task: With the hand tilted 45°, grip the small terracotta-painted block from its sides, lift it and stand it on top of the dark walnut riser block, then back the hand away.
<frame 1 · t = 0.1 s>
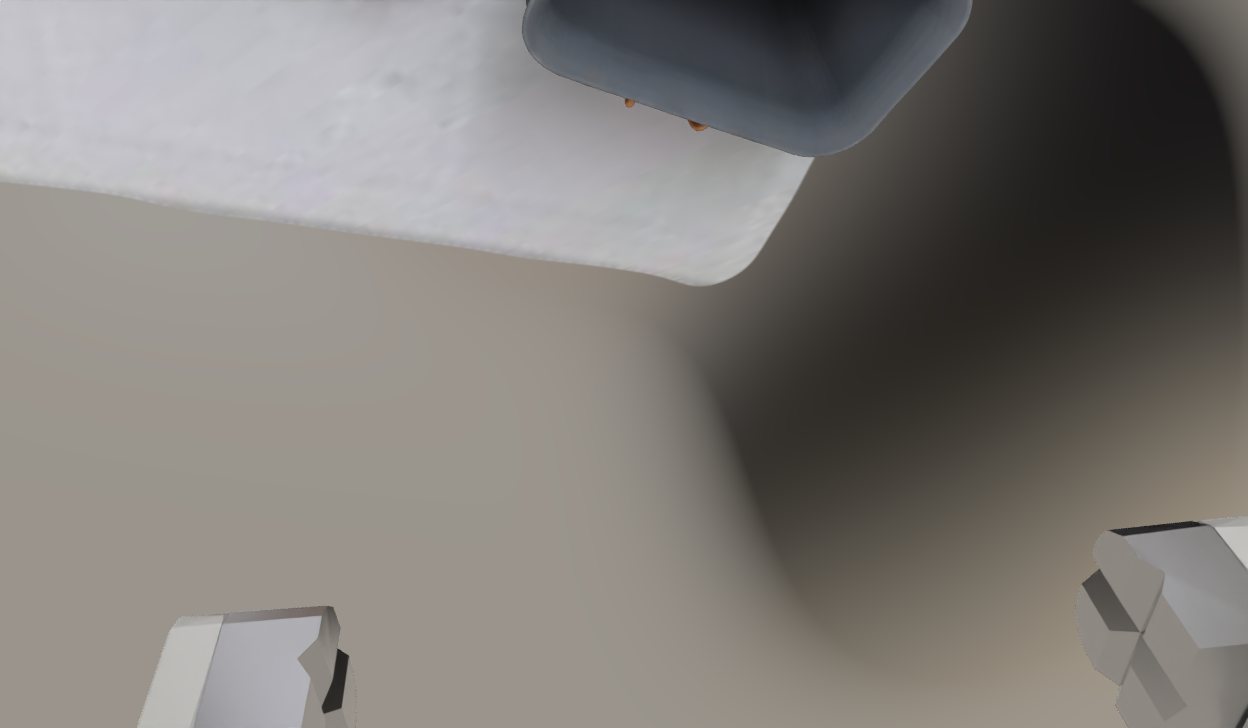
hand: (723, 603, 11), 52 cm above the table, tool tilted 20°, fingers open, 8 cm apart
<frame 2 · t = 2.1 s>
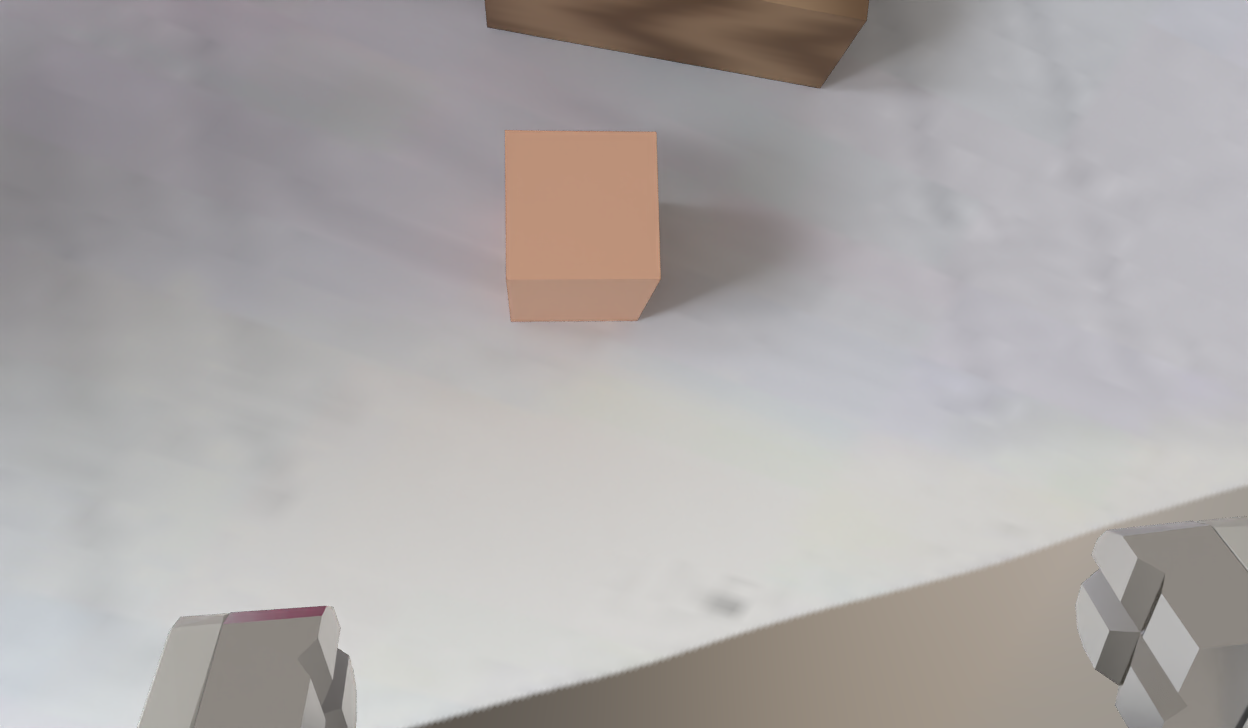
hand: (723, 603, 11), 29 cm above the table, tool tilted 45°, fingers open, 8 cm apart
terracotta block: (573, 259, 41), on the table
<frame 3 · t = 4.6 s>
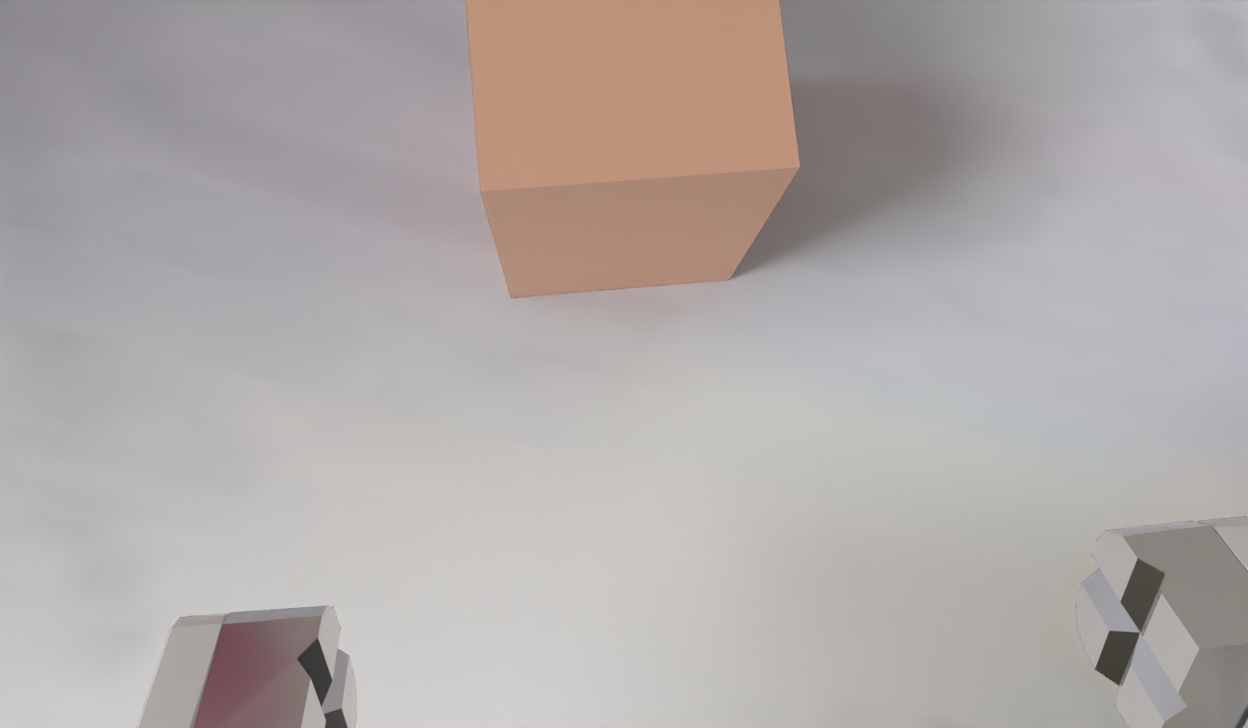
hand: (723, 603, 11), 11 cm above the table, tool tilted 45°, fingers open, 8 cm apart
terracotta block: (610, 184, 24), on the table
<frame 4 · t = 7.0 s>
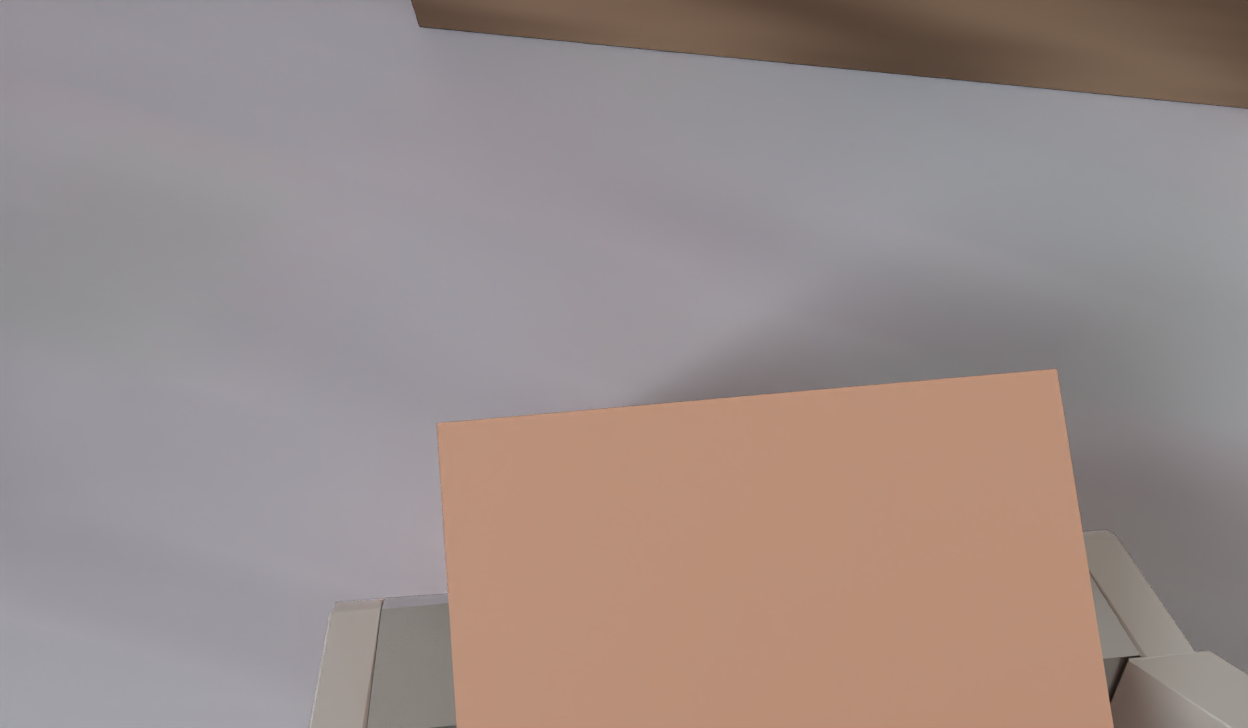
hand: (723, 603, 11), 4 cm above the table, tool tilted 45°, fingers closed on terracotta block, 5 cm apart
terracotta block: (686, 624, 15), on the table, touching gripper
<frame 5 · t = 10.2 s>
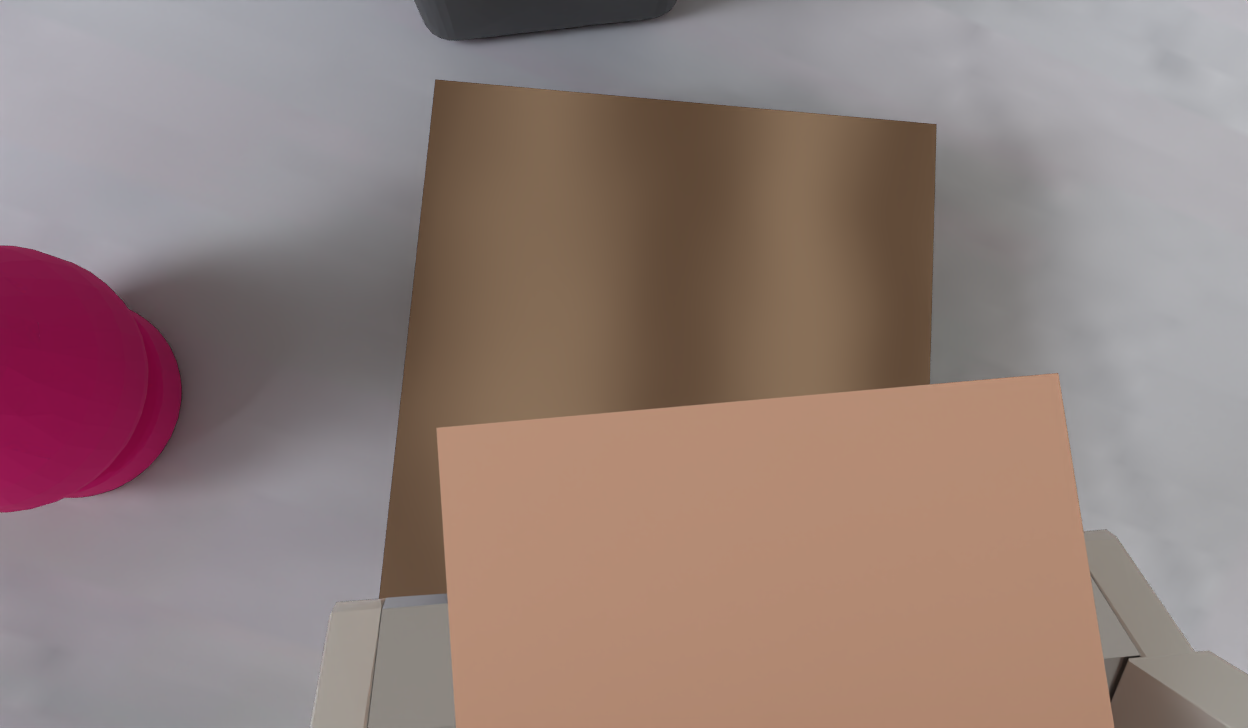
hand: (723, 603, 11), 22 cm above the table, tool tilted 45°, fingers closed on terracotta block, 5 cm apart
terracotta block: (686, 626, 15), point 17 cm above the table, touching gripper
pepper mill: (86, 399, 32), on the table
walnut riser: (654, 380, 33), on the table
when the fingers open (12 cm above the table, at t = 13.4 s): terracotta block drops 1 cm, resting on walnut riser.
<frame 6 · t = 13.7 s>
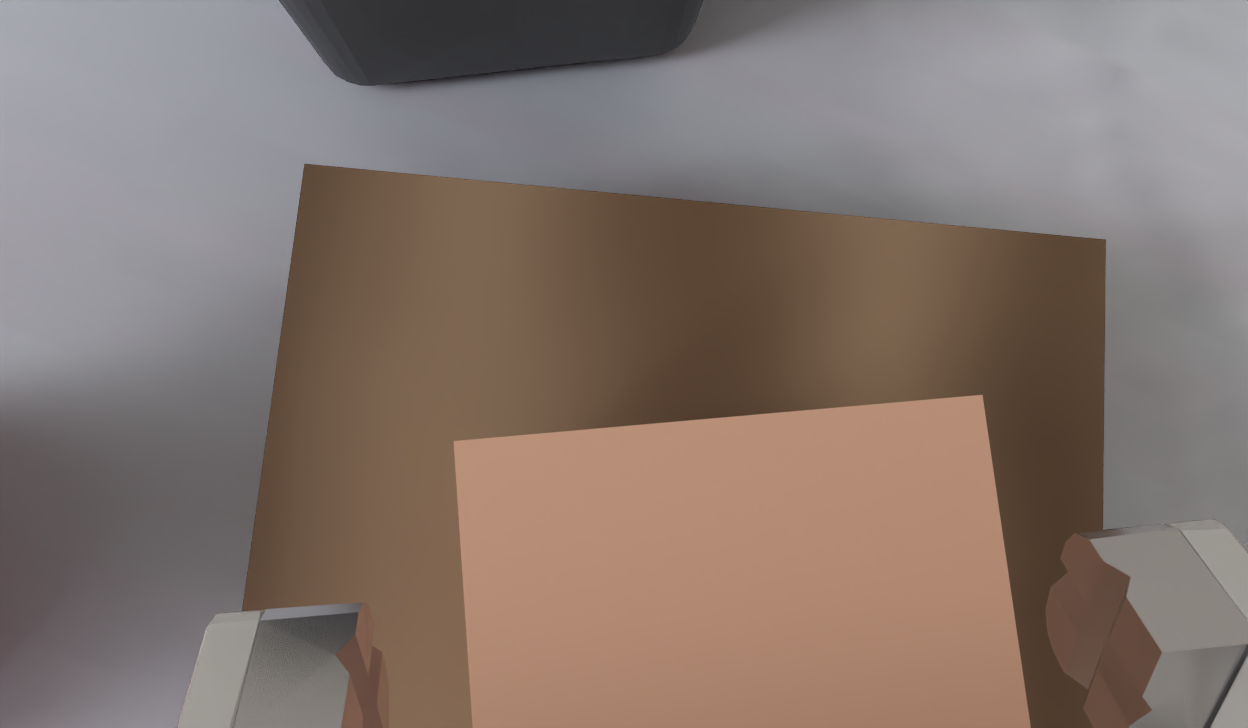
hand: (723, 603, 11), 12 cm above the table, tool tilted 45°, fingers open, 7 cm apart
terracotta block: (674, 616, 17), point 6 cm above the table, touching walnut riser
walnut riser: (653, 590, 22), on the table
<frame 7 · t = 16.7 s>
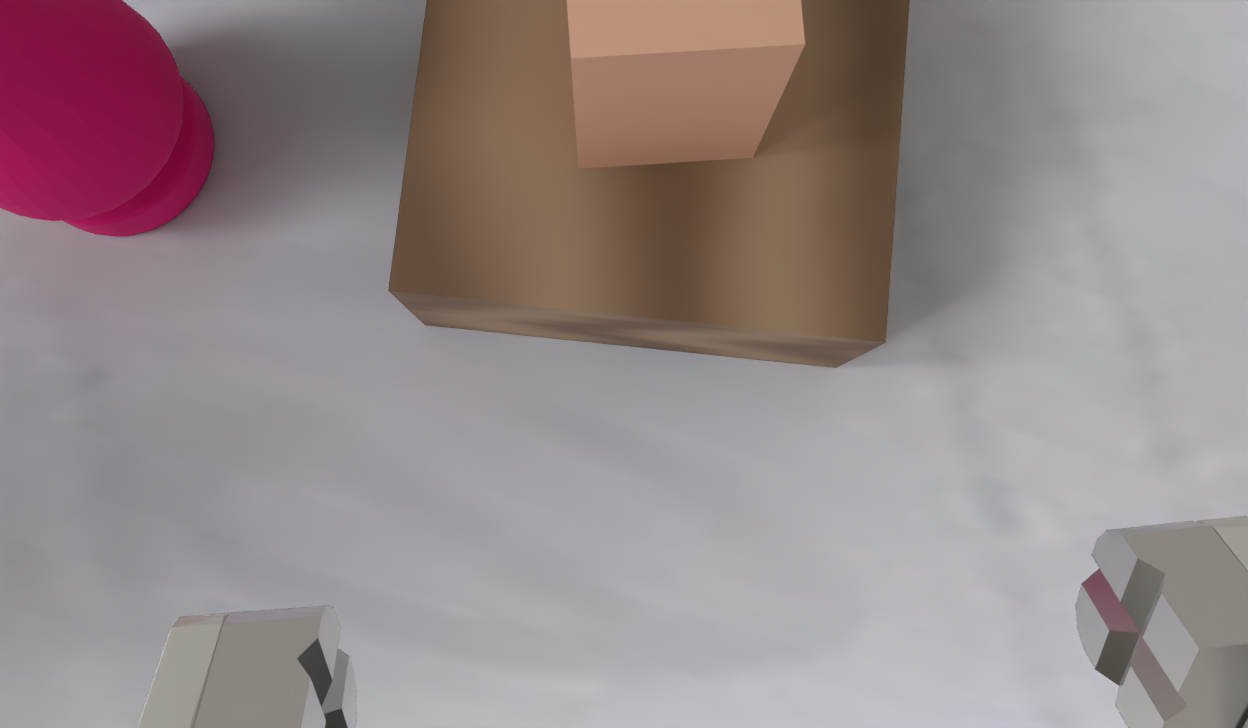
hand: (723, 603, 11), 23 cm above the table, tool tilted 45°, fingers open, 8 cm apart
terracotta block: (659, 79, 29), point 6 cm above the table, touching walnut riser
pepper mill: (126, 150, 35), on the table
walnut riser: (651, 147, 35), on the table
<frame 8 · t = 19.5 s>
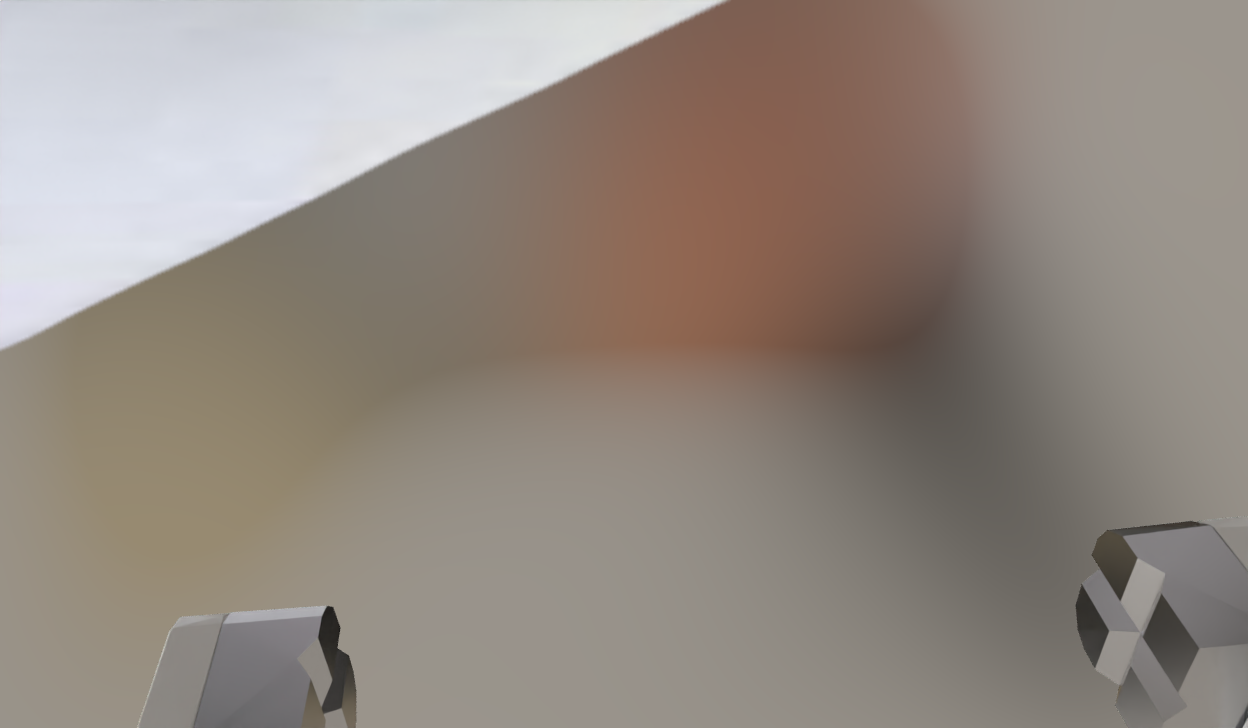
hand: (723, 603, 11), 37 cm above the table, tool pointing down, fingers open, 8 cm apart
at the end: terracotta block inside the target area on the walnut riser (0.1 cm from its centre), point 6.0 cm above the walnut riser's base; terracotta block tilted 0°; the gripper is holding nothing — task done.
